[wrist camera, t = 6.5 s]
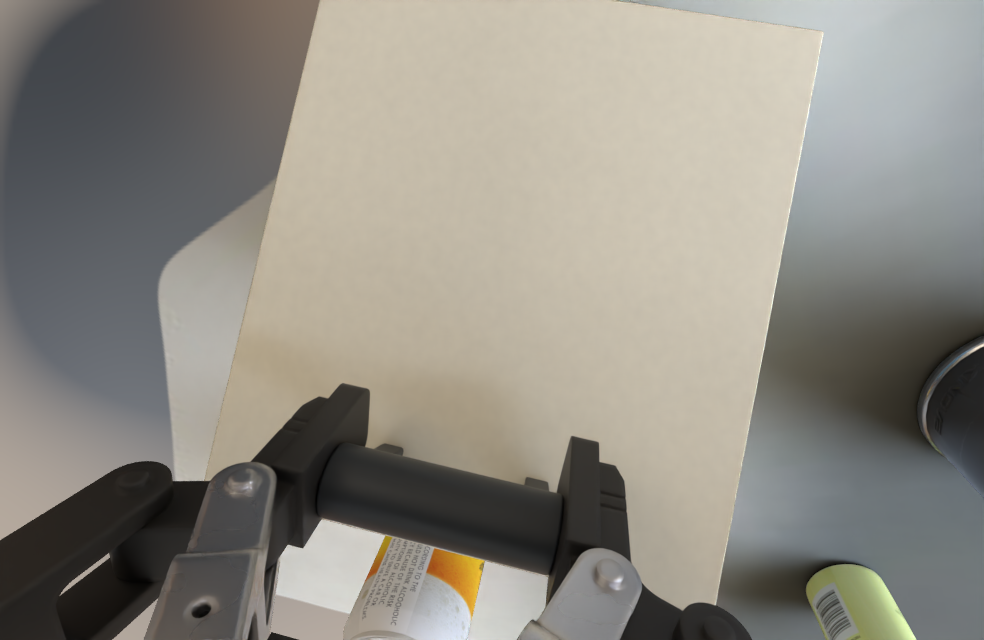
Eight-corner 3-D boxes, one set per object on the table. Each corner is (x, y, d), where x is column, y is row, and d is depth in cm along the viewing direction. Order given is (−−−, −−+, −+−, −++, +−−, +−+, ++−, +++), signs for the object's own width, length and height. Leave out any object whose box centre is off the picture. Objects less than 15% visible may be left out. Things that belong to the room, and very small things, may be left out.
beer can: (440, 501, 40) (364, 713, 27) (411, 437, 38) (312, 633, 24) (515, 490, 38) (473, 712, 25) (488, 423, 36) (428, 626, 23)
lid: (704, 607, 16) (788, 729, 11) (216, 482, 17) (80, 537, 12) (811, 46, 17) (935, -94, 11) (338, -26, 18) (260, -179, 13)
